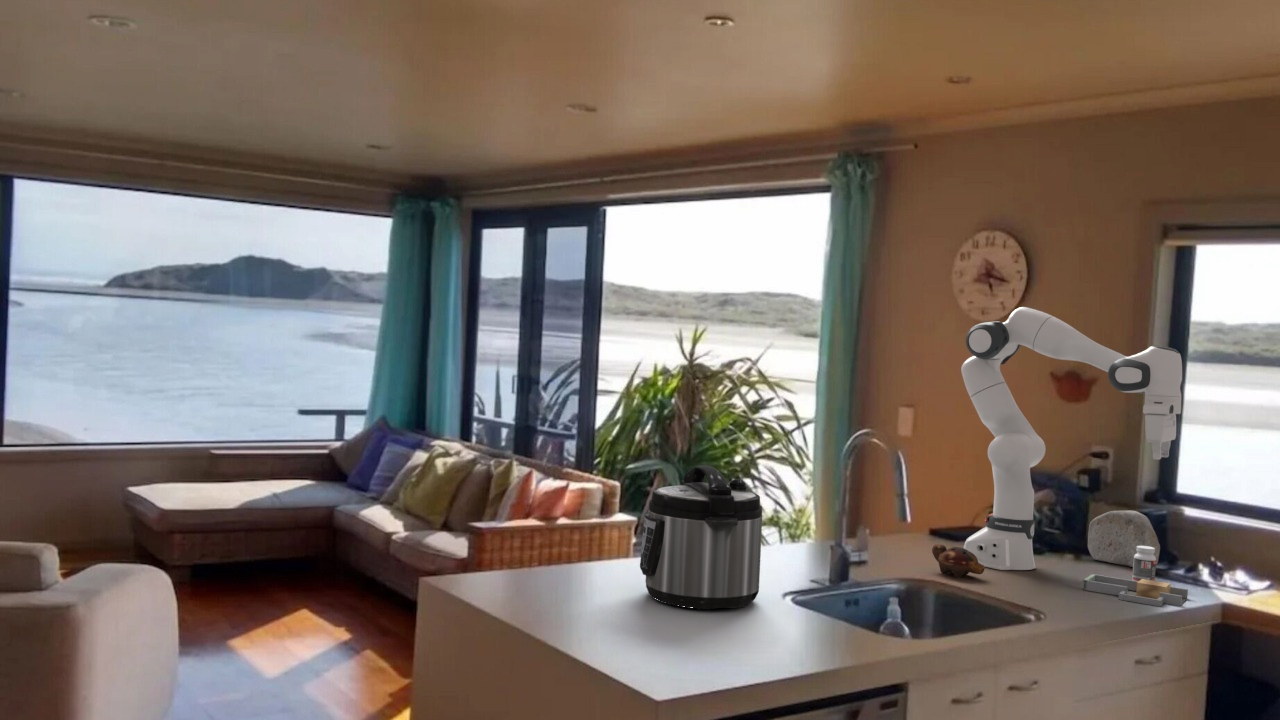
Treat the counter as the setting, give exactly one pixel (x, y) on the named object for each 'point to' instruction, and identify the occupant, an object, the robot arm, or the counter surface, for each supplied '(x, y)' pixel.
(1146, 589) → the oak block
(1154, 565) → the pill bottle
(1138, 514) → the decorative stone
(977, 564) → the decorative turtle
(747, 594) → the pressure cooker
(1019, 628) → the counter surface
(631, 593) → the counter surface
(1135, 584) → the channel
